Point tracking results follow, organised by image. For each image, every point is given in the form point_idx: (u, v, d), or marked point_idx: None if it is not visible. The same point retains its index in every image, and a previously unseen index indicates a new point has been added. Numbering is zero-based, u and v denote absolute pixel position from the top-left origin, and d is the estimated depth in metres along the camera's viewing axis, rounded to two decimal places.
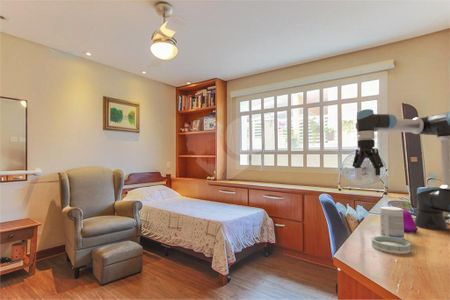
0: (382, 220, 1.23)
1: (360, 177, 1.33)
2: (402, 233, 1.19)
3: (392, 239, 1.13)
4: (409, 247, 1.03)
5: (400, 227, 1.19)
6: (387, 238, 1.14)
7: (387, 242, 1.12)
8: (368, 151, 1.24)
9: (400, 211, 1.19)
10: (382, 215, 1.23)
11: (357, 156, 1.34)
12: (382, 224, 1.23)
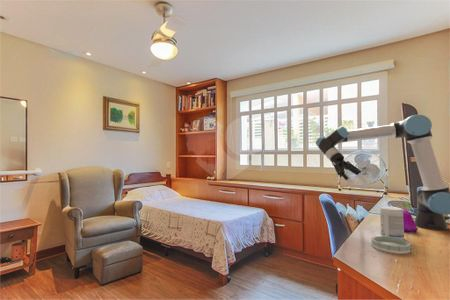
0: (382, 220, 1.23)
1: (364, 179, 1.41)
2: (402, 233, 1.19)
3: (392, 239, 1.13)
4: (409, 247, 1.03)
5: (400, 227, 1.19)
6: (387, 238, 1.14)
7: (387, 242, 1.12)
8: None
9: (400, 211, 1.19)
10: (382, 215, 1.23)
11: None
12: (382, 224, 1.23)
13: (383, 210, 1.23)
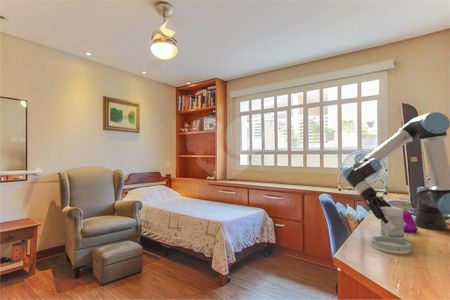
0: None
1: None
2: (402, 233, 1.19)
3: (392, 239, 1.13)
4: (409, 247, 1.03)
5: (400, 227, 1.19)
6: (387, 238, 1.14)
7: (387, 242, 1.12)
8: None
9: (400, 211, 1.19)
10: None
11: None
12: (382, 224, 1.23)
13: (383, 210, 1.23)
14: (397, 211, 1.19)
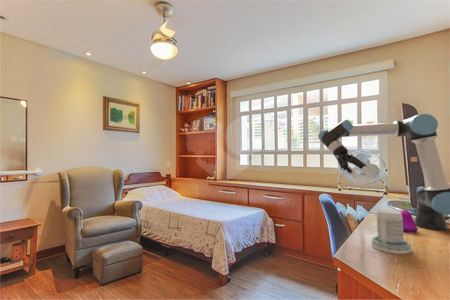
0: (379, 225, 1.09)
1: (369, 173, 1.36)
2: (401, 240, 1.05)
3: None
4: (409, 247, 1.03)
5: (399, 233, 1.04)
6: None
7: None
8: None
9: (399, 215, 1.05)
10: (379, 219, 1.09)
11: None
12: (379, 229, 1.09)
13: (380, 214, 1.09)
14: (396, 215, 1.05)
